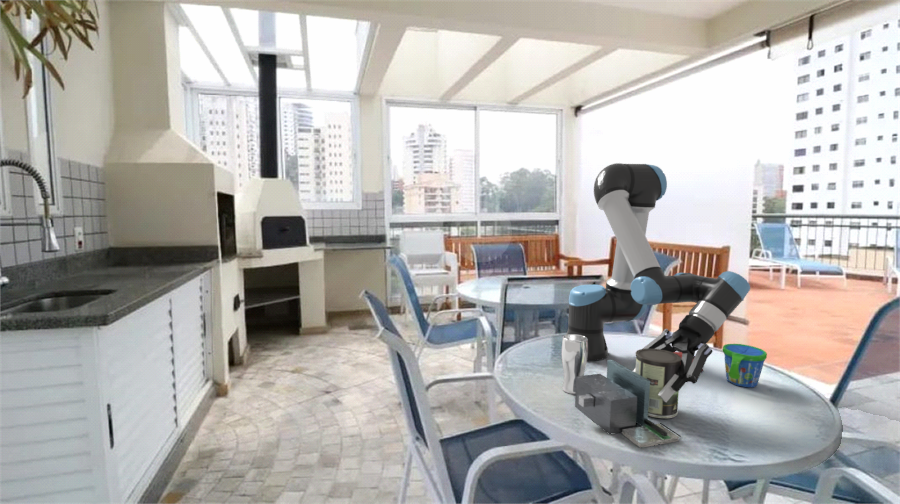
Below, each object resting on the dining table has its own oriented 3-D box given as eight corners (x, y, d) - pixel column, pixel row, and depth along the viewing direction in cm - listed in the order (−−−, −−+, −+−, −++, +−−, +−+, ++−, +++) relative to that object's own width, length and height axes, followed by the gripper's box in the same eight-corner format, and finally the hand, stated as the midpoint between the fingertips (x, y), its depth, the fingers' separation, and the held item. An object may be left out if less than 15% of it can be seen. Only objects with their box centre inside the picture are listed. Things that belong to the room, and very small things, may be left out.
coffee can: (670, 401, 114) (674, 349, 113) (683, 420, 104) (687, 364, 103) (629, 397, 117) (631, 346, 115) (637, 416, 107) (640, 360, 105)
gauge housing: (575, 406, 112) (576, 376, 111) (620, 400, 116) (621, 371, 115) (628, 450, 92) (630, 414, 91) (680, 440, 96) (683, 406, 95)
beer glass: (555, 386, 124) (556, 335, 122) (574, 383, 126) (576, 332, 125) (571, 397, 117) (573, 342, 116) (591, 392, 120) (593, 339, 118)
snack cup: (750, 396, 119) (753, 360, 117) (709, 383, 127) (712, 349, 126) (773, 383, 127) (777, 349, 126) (734, 371, 136) (736, 339, 135)
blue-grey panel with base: (564, 406, 111) (566, 364, 110) (609, 399, 115) (611, 359, 113) (615, 449, 92) (618, 399, 91) (667, 440, 96) (670, 392, 94)
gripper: (749, 346, 102) (690, 419, 99) (675, 320, 123) (624, 380, 121) (733, 326, 100) (672, 400, 97) (660, 303, 121) (609, 363, 119)
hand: (646, 389), depth 109 cm, fingers closed on coffee can, 10 cm apart
